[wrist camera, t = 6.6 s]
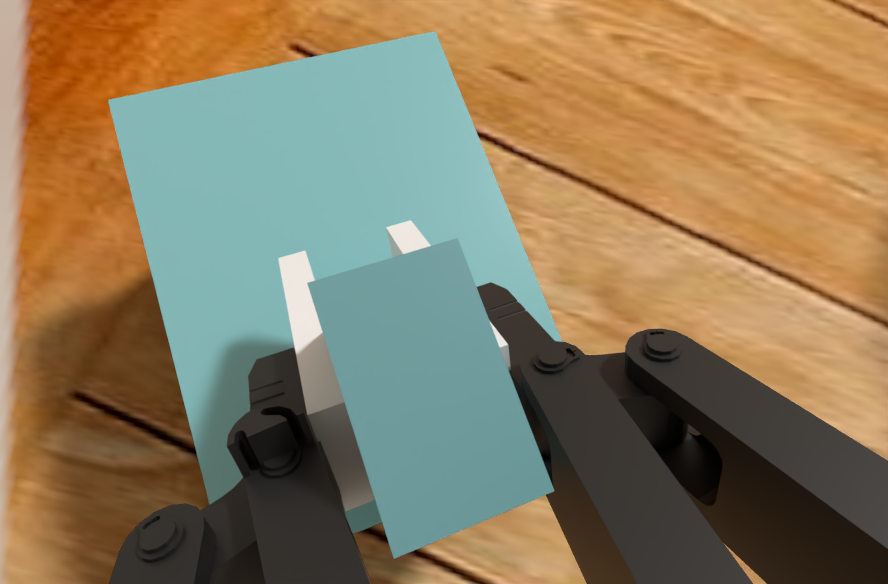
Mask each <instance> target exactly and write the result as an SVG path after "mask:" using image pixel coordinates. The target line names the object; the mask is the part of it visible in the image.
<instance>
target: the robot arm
mask: <svg viewBox="0 0 888 584" xmlns="http://www.w3.org/2000/svg"><path fill="white" fill-rule="evenodd" d="M386 230H387V234H388V239H389V243H390V247H391V252H392V256H393V257H395V256H399V255H402V254H405V253H409V252H412V251H415V250H419V249H422V248H425V247H429V246H431V245H430V244H429V243H428V241H427V240H426V239H425V238H424V236H423V235H422V234H421V232H420V231H419V230H418V229H417V227H416V226H415V225H414V224H413V222H412V221H411V220H410V221H406V222H403V223H399V224H396V225H392V226H389V227H386ZM278 260H279V266H280V271H281V277H282V282H283V287H284V293H285V298H286V303H287V309H288V314H289V320H290V325H291V330H292V336H293V341H294V346H295V347H293V348H290V349H287V350H284V351H281V352H278V353H275V354H272V355H268V356H265V357H262V358H259V359H256V361H255V363H254V365H253V367H252V369H251V371H250V373H249V375H248V382H249V393H250V394H249V401H250V411H249V412H247V413H246V414H245V415H244V416H242V417H241V418H240V419H239V420H238V421H237V422H236V423H235V424H234V426H233V427H232V429H231V431H230V432H229V434H228V438H227V448H228V450H229V452H230V453H231V455H232V457H233V459H234V461H235V463H236V465H237V466H238V468H239V470H240V472H241V474H242V476H243V478H242V479H241V481H240V482H239V483H238V484H237V485H236V486H235V487H234V488H233V489H232V490H230V491H229V492H228V493H226V494H225V495H224V496H222V497H221V498H219V499H218V500H216V501H215V502H213V503H212V504H210V505H209V506H207V507H205V508H204V509H202V510H201V511H199V509H198V508H197V507H195V506H191V505H188V504H178V505H170V506H168V507H166V508H163V509H161V510H158V511H156V512H154V513H153V514H151V515H150V516H149V517H147V518H146V519H144V520H143V521H142V522H140V523H139V524H138V525H137V526H136V527H135V529H134V530H133V531H132V532H131V533H130V534H129V535H128V536H127V538H126V540H125V542H124V544H123V546H122V548H121V549H120V551H119V554H118V557H117V560H116V563H115V567H114V570H113V573H112V576H111V579H110V582H109V584H372V582H371V580H370V577H369V575H368V572H367V569H366V567H365V564H364V562H363V559H362V557H361V554H360V551H359V549H358V546H357V544H356V541H355V538H354V536H353V533H352V531H351V528H350V526H349V523H348V521H347V518H346V515H345V511H344V508H345V510H346V511H348V510H351V509H353V508H356V507H358V506H361V505H363V504H366V503H368V502H371V501H373V500H375V498H374V494H373V491H372V488H371V485H370V482H369V478H368V475H367V472H366V469H365V466H364V463H363V459H362V456H361V453H360V450H359V447H358V443H357V440H356V437H355V434H354V431H353V427H352V424H351V421H350V418H349V415H348V412H347V408H346V405H345V402H344V399H343V396H342V392H341V389H340V386H339V383H338V380H337V377H336V373H335V370H334V367H333V364H332V361H331V357H330V354H329V351H328V348H327V345H326V341H325V338H324V335H323V332H322V329H321V326H320V322H319V319H318V316H317V313H316V310H315V306H314V303H313V300H312V297H311V294H310V290H309V287H308V284H307V283H309V282H312V281H315V279H314V275H313V272H312V269H311V266H310V263H309V260H308V257H307V254H306V251H302V252H298V253H295V254H291V255H288V256H284V257H281V258H278ZM477 290H478V292H479V295H480V298H481V300H482V303H483V305H484V308H485V311H486V313H487V316H488V318H489V321H490V324H491V326H492V329H493V332H494V334H495V337H496V339H497V342H498V345H499V347H500V350H501V352H502V355H503V358H504V360H505V363H506V365H507V368H508V371H509V373H510V376H511V379H512V381H513V384H514V386H515V389H516V392H517V394H518V397H519V399H520V402H521V405H522V407H523V410H524V413H525V415H526V418H527V420H528V423H529V426H530V428H531V431H532V433H533V436H534V439H535V441H536V444H537V446H538V449H539V452H540V454H541V457H542V460H543V462H544V465H545V467H546V470H547V473H548V475H549V478H550V480H551V483H552V486H553V488H554V492H551V493H549V494H546V496H547V498H548V501H549V503H550V505H551V507H552V509H553V511H554V514H555V516H556V518H557V520H558V522H559V524H560V527H561V529H562V531H563V533H564V535H565V537H566V540H567V542H568V544H569V546H570V548H571V550H572V553H573V555H574V557H575V559H576V561H577V563H578V565H579V568H580V570H581V572H582V574H583V576H584V578H585V581H586V583H587V584H753V583H752V582H751V580H750V579H749V577H748V576H747V575H746V573H745V572H744V571H743V569H742V568H741V567H740V565H739V564H738V562H737V561H736V560H735V558H734V557H733V556H732V554H731V553H730V552H729V550H728V549H727V547H728V548H730V549H731V550H732V551H733V552H734V553H735V554H736V555H737V556H738V557H739V558H740V559H741V560H742V561H743V562H745V563H746V564H747V565H748V566H749V567H750V568H751V569H752V570H753V571H754V572H755V573H756V574H757V575H758V576H759V577H761V578H762V579H763V580H764V581H765V582H766V583H767V584H888V461H887V460H886V459H884V458H882V457H881V456H879V455H878V454H876V453H874V452H873V451H871V450H870V449H868V448H866V447H865V446H863V445H861V444H860V443H858V442H857V441H855V440H853V439H852V438H850V437H849V436H847V435H845V434H844V433H842V432H840V431H839V430H837V429H836V428H834V427H832V426H831V425H829V424H828V423H826V422H824V421H823V420H821V419H819V418H818V417H816V416H815V415H813V414H811V413H810V412H808V411H807V410H805V409H803V408H802V407H800V406H798V405H797V404H795V403H794V402H792V401H790V400H789V399H787V398H785V397H784V396H782V395H781V394H779V393H777V392H776V391H774V390H773V389H771V388H769V387H768V386H766V385H764V384H763V383H761V382H760V381H758V380H756V379H755V378H753V377H752V376H750V375H748V374H747V373H745V372H743V371H742V370H740V369H739V368H737V367H735V366H734V365H732V364H731V363H729V362H727V361H726V360H724V359H722V358H721V357H719V356H718V355H716V354H714V353H713V352H711V351H710V350H708V349H706V348H705V347H703V346H701V345H700V344H698V343H697V342H695V341H693V340H692V339H690V338H689V337H687V336H685V335H682V334H680V333H678V332H676V331H671V330H666V329H647V330H644V331H641V332H637V333H636V334H634V335H633V336H632V337H630V338H629V340H628V342H627V344H626V350H625V352H623V353H614V354H605V355H585V354H584V353H583V352H582V351H581V350H580V349H578V348H577V347H576V346H574V345H571V344H569V343H566V342H559V341H554V339H553V338H552V337H551V336H550V335H549V334H548V333H547V332H546V331H545V330H544V329H543V328H542V326H541V325H540V324H539V323H538V322H537V321H536V320H535V319H534V318H533V317H532V316H531V314H530V313H529V312H528V311H526V310H525V308H524V307H523V306H522V305H521V304H520V303H519V302H518V301H517V299H516V298H515V297H514V296H513V295H512V294H511V293H510V292H509V291H508V290H507V289H505V288H503V287H501V286H499V285H496V284H494V283H492V282H490V283H487V284H484V285H481V286H478V287H477ZM343 505H344V506H343ZM724 544H725V545H726V546H727V547H726V546H725V545H724Z"/></svg>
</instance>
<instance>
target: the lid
mask: <svg viewBox="0 0 888 584" xmlns="http://www.w3.org/2000/svg"><path fill="white" fill-rule="evenodd" d="M108 102H109V106H110V110H111V114H112V118H113V122H114V126H115V130H116V134H117V138H118V142H119V146H120V150H121V154H122V158H123V162H124V166H125V169H126V173H127V177H128V181H129V185H130V189H131V193H132V197H133V201H134V205H135V209H136V213H137V217H138V221H139V225H140V229H141V233H142V237H143V241H144V245H145V249H146V253H147V257H148V261H149V265H150V269H151V273H152V277H153V281H154V285H155V289H156V293H157V297H158V301H159V305H160V309H161V313H162V317H163V321H164V325H165V329H166V333H167V337H168V341H169V345H170V349H171V353H172V357H173V361H174V365H175V369H176V373H177V377H178V381H179V385H180V389H181V393H182V397H183V401H184V405H185V409H186V413H187V417H188V421H189V425H190V429H191V433H192V437H193V441H194V445H195V449H196V453H197V457H198V461H199V465H200V469H201V473H202V477H203V481H204V485H205V489H206V493H207V496H208V500H209V504H212V503H213V502H215V501H216V500H218V499H219V498H221V497H222V496H224V495H225V494H226V493H228V492H229V491H230V490H232V489H233V488H234V487H235V486H236V485H237V484H238V483H239V482H240V481H241V479H242V478H243V476H242V474H241V472H240V470H239V468H238V466H237V465H236V463H235V461H234V459H233V457H232V455H231V453H230V452H229V450H228V448H227V438H228V434H229V432H230V431H231V429H232V427H233V426H234V424H235V423H236V422H237V421H238V420H239V419H240V418H241V417H242V416H244V415H245V414H246V413H247V412H249V411H250V401H249V394H250V393H249V382H248V375H249V373H250V371H251V369H252V367H253V365H254V363H255V361H256V359H259V358H262V357H265V356H268V355H272V354H275V353H278V352H281V351H284V350H287V349H290V348H293V347H295V346H294V341H293V336H292V330H291V325H290V320H289V314H288V309H287V303H286V298H285V293H284V287H283V282H282V277H281V271H280V266H279V260H278V258H281V257H284V256H288V255H291V254H295V253H298V252H302V251H306V254H307V257H308V260H309V263H310V266H311V269H312V272H313V275H314V279H315V281H312V282H309V283H307V284H308V287H309V290H310V294H311V297H312V300H313V303H314V306H315V310H316V313H317V316H318V319H319V322H320V326H321V329H322V332H323V335H324V338H325V341H326V345H327V348H328V351H329V354H330V357H331V361H332V364H333V367H334V370H335V373H336V377H337V380H338V383H339V386H340V389H341V392H342V396H343V399H344V402H345V405H346V408H347V412H348V415H349V418H350V421H351V424H352V427H353V431H354V434H355V437H356V440H357V443H358V447H359V450H360V453H361V456H362V459H363V463H364V466H365V469H366V472H367V475H368V478H369V482H370V485H371V488H372V491H373V494H374V498H375V500H373V501H371V502H368V503H366V504H363V505H361V506H358V507H356V508H353V509H351V510H348V511H346V510H345V508H344V511H345V515H346V518H347V521H348V523H349V526H350V528H351V531H352V533H353V534H354V533H357V532H359V531H362V530H364V529H367V528H369V527H372V526H374V525H377V524H379V523H383V526H384V529H385V533H386V536H387V539H388V542H389V545H390V549H391V552H392V555H393V558H394V559H395V558H397V557H400V556H402V555H404V554H407V553H409V552H411V551H414V550H416V549H419V548H421V547H423V546H426V545H428V544H430V543H433V542H435V541H438V540H440V539H442V538H445V537H447V536H449V535H452V534H454V533H456V532H459V531H461V530H464V529H466V528H468V527H471V526H473V525H475V524H478V523H480V522H483V521H485V520H487V519H490V518H492V517H494V516H497V515H499V514H501V513H504V512H506V511H509V510H511V509H513V508H516V507H518V506H520V505H523V504H525V503H528V502H530V501H532V500H535V499H537V498H539V497H542V496H544V495H546V494H549V493H551V492H554V488H553V486H552V483H551V480H550V478H549V475H548V473H547V470H546V467H545V465H544V462H543V460H542V457H541V454H540V452H539V449H538V446H537V444H536V441H535V439H534V436H533V433H532V431H531V428H530V426H529V423H528V420H527V418H526V415H525V413H524V410H523V407H522V405H521V402H520V399H519V397H518V394H517V392H516V389H515V386H514V384H513V381H512V379H511V376H510V373H509V371H508V368H507V365H506V363H505V360H504V358H503V355H502V352H501V350H500V347H499V345H498V342H497V339H496V337H495V334H494V332H493V329H492V326H491V324H490V321H489V318H488V316H487V313H486V311H485V308H484V305H483V303H482V300H481V298H480V295H479V292H478V290H477V287H478V286H481V285H484V284H487V283H490V282H492V283H494V284H496V285H499V286H501V287H503V288H505V289H507V290H508V291H509V292H510V293H511V294H512V295H513V296H514V297H515V298H516V299H517V301H518V302H519V303H520V304H521V305H522V306H523V307H524V308H525V310H526V311H528V312H529V313H530V314H531V316H532V317H533V318H534V319H535V320H536V321H537V322H538V323H539V324H540V325H541V326H542V328H543V329H544V330H545V331H546V332H547V333H548V334H549V335H550V336H551V337H552V338H553V339H554V341H559V342H562V340H561V338H560V335H559V333H558V330H557V328H556V325H555V323H554V320H553V318H552V316H551V313H550V311H549V308H548V306H547V303H546V301H545V298H544V296H543V294H542V291H541V289H540V286H539V284H538V281H537V279H536V276H535V274H534V272H533V269H532V267H531V264H530V262H529V259H528V257H527V254H526V252H525V250H524V247H523V245H522V242H521V240H520V237H519V235H518V232H517V230H516V228H515V225H514V223H513V220H512V218H511V215H510V213H509V210H508V208H507V205H506V203H505V201H504V198H503V196H502V193H501V191H500V188H499V186H498V183H497V181H496V179H495V176H494V174H493V171H492V169H491V166H490V164H489V161H488V159H487V157H486V154H485V152H484V149H483V147H482V144H481V142H480V139H479V137H478V135H477V132H476V130H475V127H474V125H473V122H472V120H471V117H470V115H469V113H468V110H467V108H466V105H465V103H464V100H463V98H462V95H461V93H460V91H459V88H458V86H457V83H456V81H455V78H454V76H453V73H452V71H451V69H450V66H449V64H448V61H447V59H446V56H445V54H444V51H443V49H442V47H441V44H440V42H439V39H438V37H437V34H436V32H435V31H433V32H429V33H424V34H419V35H414V36H410V37H405V38H400V39H395V40H391V41H386V42H381V43H376V44H372V45H367V46H362V47H357V48H353V49H348V50H343V51H338V52H334V53H329V54H324V55H320V56H315V57H310V58H305V59H301V60H296V61H291V62H286V63H282V64H277V65H272V66H267V67H263V68H258V69H253V70H248V71H244V72H239V73H234V74H229V75H225V76H220V77H215V78H210V79H206V80H201V81H196V82H191V83H187V84H182V85H177V86H173V87H168V88H163V89H158V90H154V91H149V92H144V93H139V94H135V95H130V96H125V97H120V98H116V99H111V100H108ZM410 220H411V221H412V222H413V224H414V225H415V226H416V227H417V229H418V230H419V231H420V232H421V234H422V235H423V236H424V238H425V239H426V240H427V241H428V243H429V244H430V245H431V246H429V247H425V248H422V249H419V250H415V251H412V252H409V253H405V254H402V255H399V256H395V257H393V256H392V252H391V247H390V243H389V239H388V234H387V230H386V227H389V226H392V225H396V224H399V223H403V222H406V221H410ZM343 506H344V505H343Z"/></svg>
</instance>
